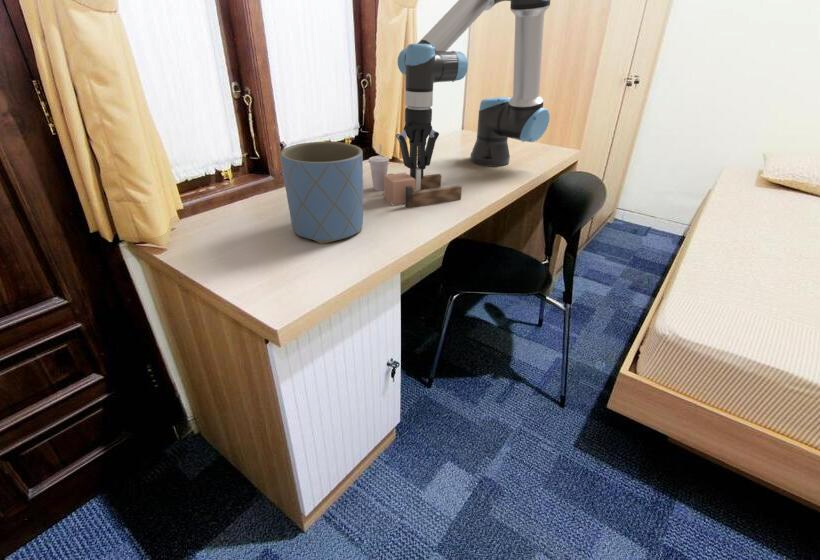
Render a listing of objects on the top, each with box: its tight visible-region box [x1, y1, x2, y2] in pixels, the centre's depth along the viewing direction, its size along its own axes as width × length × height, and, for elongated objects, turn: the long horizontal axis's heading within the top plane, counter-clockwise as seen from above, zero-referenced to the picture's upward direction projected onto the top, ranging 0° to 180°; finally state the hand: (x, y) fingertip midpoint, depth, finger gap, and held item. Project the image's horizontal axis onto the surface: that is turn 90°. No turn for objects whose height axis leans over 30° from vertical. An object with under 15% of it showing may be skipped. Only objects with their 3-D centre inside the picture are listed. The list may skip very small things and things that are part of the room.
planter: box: [279, 141, 364, 245], centre depth 107 cm, size 19×19×20 cm
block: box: [383, 172, 416, 206], centre depth 130 cm, size 7×7×7 cm
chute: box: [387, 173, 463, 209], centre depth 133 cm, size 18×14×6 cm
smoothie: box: [368, 144, 390, 192], centre depth 136 cm, size 6×6×14 cm
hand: (416, 189), depth 132 cm, fingers closed
